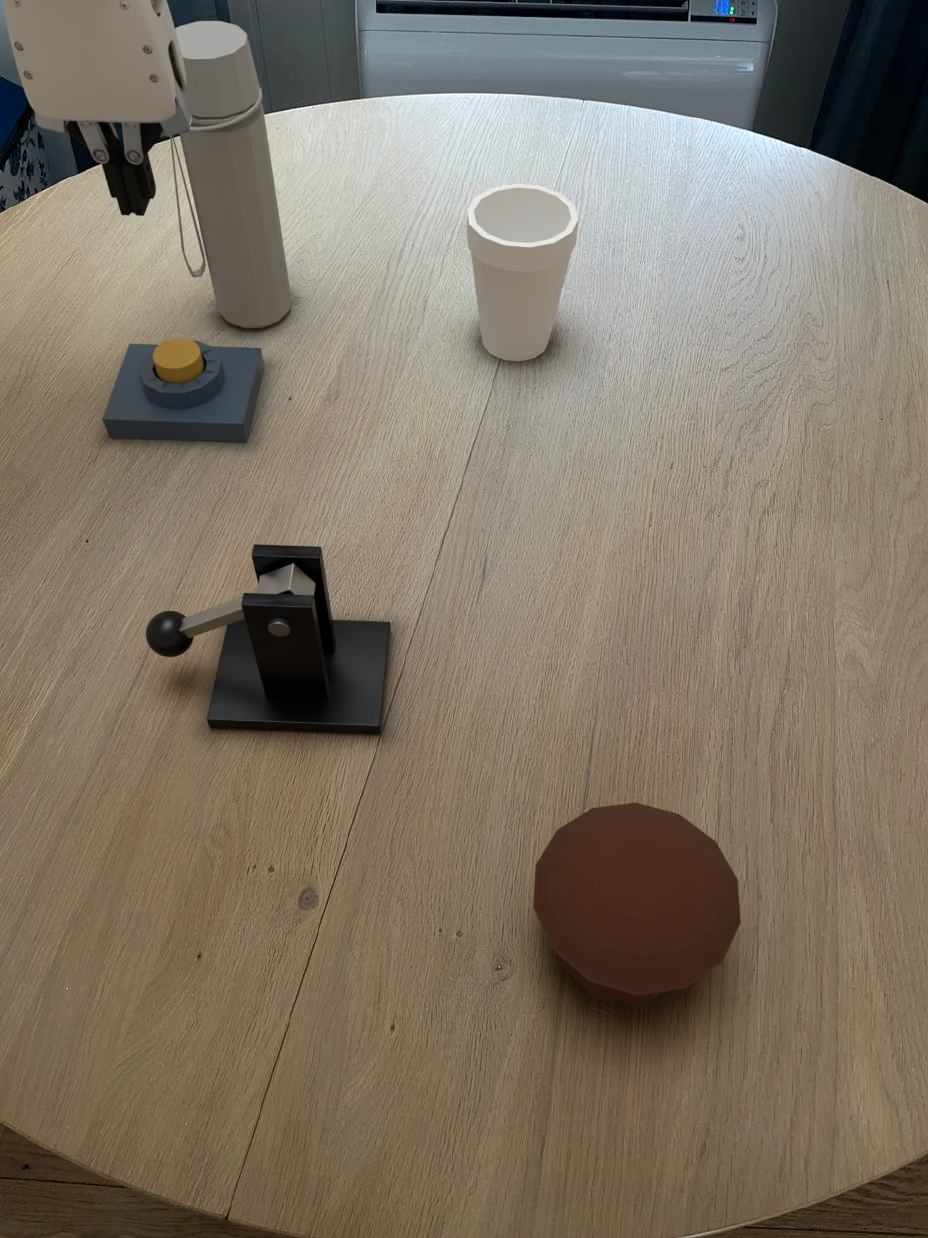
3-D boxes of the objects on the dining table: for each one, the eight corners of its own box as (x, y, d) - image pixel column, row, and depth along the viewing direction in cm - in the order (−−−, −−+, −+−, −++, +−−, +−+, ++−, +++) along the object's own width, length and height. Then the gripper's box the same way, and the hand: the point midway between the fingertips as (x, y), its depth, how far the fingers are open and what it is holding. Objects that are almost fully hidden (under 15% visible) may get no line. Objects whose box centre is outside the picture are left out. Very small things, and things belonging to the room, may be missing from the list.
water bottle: (284, 279, 104) (243, 11, 83) (302, 326, 99) (263, 56, 79) (191, 296, 102) (127, 27, 82) (205, 345, 97) (141, 73, 77)
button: (152, 383, 89) (147, 367, 87) (162, 353, 91) (157, 337, 90) (199, 385, 89) (195, 369, 87) (207, 354, 91) (204, 338, 90)
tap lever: (164, 670, 72) (130, 647, 70) (173, 633, 74) (141, 609, 72) (314, 619, 67) (284, 592, 64) (320, 580, 69) (291, 552, 66)
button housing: (108, 438, 90) (96, 402, 87) (135, 362, 96) (123, 326, 93) (247, 442, 90) (239, 407, 86) (264, 366, 96) (258, 330, 92)
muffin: (690, 839, 68) (722, 765, 60) (741, 1012, 61) (784, 955, 53) (511, 863, 67) (519, 790, 59) (543, 1041, 60) (557, 987, 52)
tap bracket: (209, 728, 73) (173, 629, 63) (231, 625, 78) (200, 518, 68) (380, 735, 72) (370, 636, 63) (391, 630, 78) (382, 525, 68)
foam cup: (546, 382, 95) (558, 257, 84) (451, 358, 96) (451, 233, 86) (576, 321, 100) (590, 196, 90) (485, 299, 102) (489, 175, 91)
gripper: (198, -95, 65) (245, 180, 80) (-39, -101, 65) (51, 175, 80) (174, -45, 60) (228, 237, 75) (-81, -51, 61) (23, 231, 75)
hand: (137, 204), depth 77 cm, fingers closed
